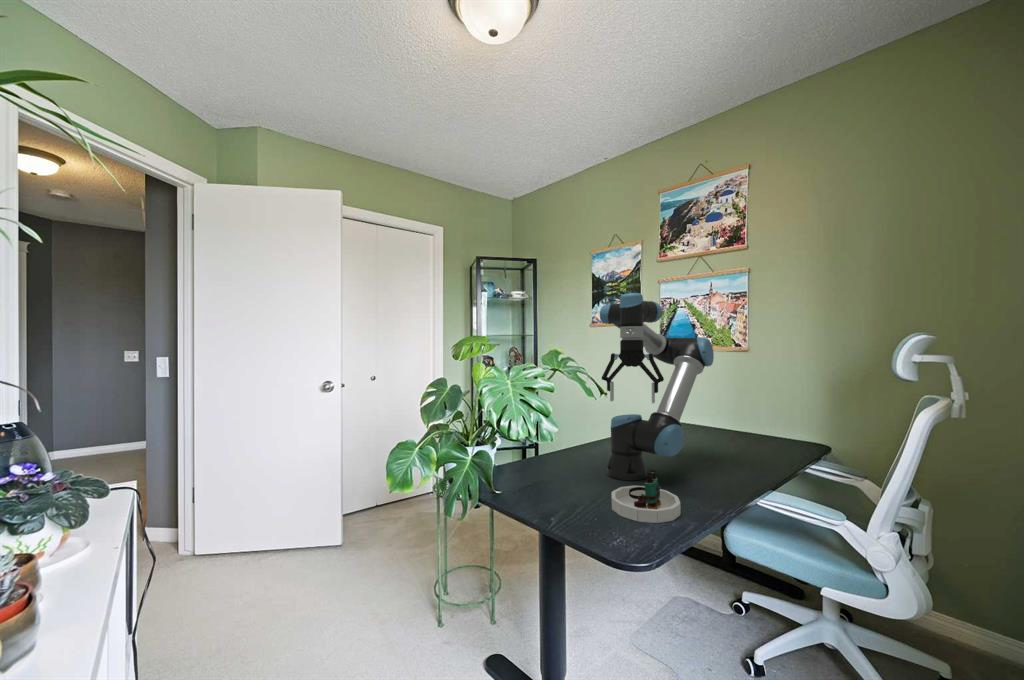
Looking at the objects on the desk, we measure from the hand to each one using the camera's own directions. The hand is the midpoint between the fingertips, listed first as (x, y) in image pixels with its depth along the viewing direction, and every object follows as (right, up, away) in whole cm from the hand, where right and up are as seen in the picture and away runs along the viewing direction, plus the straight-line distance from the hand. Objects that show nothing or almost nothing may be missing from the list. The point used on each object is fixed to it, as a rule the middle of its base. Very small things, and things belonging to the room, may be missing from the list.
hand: (632, 401), depth 142 cm
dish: (+1, -32, -11) cm, 34 cm away
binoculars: (+1, -31, -11) cm, 33 cm away
